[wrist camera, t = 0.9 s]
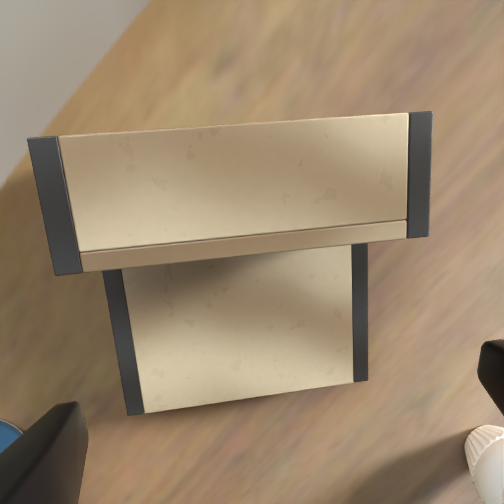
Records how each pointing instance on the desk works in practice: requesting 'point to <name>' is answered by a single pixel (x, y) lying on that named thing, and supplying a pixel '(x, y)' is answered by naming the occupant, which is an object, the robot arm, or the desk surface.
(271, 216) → the shelf
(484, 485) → the muffin
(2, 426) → the soda can
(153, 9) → the desk surface
